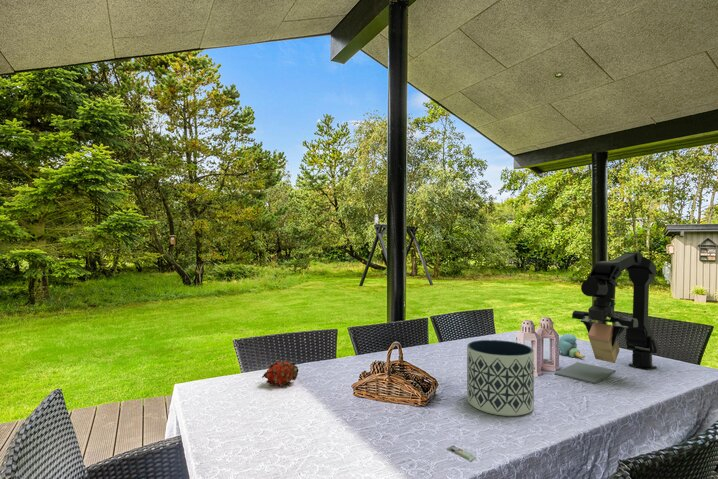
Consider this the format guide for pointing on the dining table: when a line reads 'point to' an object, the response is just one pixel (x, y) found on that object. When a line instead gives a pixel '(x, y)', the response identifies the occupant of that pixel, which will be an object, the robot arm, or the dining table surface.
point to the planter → (500, 377)
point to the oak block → (603, 342)
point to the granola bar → (461, 453)
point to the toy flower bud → (569, 346)
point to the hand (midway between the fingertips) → (602, 344)
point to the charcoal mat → (585, 372)
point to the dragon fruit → (281, 373)
